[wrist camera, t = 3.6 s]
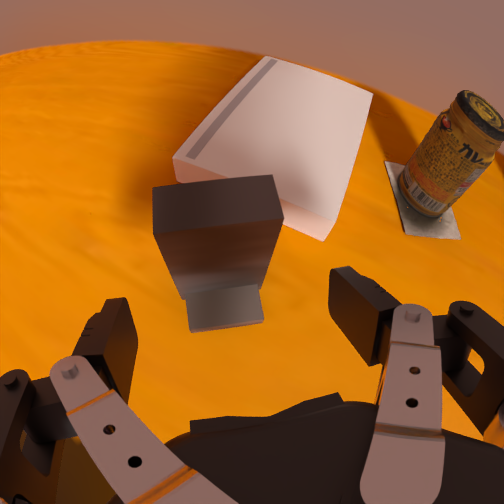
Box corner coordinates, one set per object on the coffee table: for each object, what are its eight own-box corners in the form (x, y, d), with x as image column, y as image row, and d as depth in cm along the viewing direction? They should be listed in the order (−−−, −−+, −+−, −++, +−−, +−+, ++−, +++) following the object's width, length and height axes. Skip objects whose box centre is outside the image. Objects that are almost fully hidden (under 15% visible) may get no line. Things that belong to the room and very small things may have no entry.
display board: (263, 75, 33) (265, 55, 30) (364, 112, 31) (373, 93, 29) (176, 180, 25) (172, 156, 22) (323, 241, 23) (335, 222, 21)
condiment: (437, 172, 29) (492, 96, 18) (460, 240, 25) (538, 169, 14) (383, 162, 28) (435, 70, 17) (403, 235, 25) (484, 146, 14)
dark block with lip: (253, 255, 23) (271, 170, 14) (267, 321, 21) (297, 270, 12) (178, 265, 22) (152, 184, 13) (186, 333, 20) (155, 289, 11)
